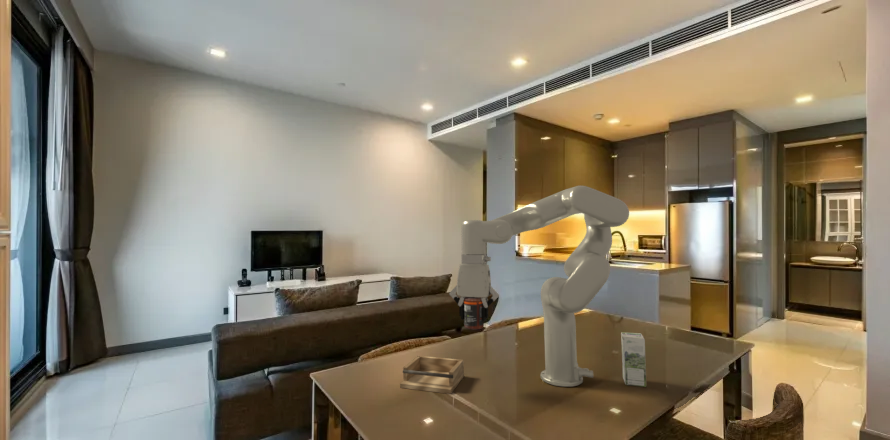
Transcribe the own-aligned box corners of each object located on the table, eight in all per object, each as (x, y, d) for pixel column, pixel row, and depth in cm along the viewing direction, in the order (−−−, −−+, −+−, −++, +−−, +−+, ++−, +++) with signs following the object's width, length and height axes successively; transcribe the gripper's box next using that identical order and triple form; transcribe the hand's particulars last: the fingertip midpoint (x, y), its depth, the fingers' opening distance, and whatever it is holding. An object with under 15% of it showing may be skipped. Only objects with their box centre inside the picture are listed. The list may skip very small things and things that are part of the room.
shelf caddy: (463, 376, 117) (463, 359, 117) (450, 393, 104) (450, 375, 104) (418, 371, 122) (417, 355, 122) (400, 387, 109) (399, 369, 109)
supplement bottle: (483, 325, 113) (483, 289, 114) (483, 330, 107) (483, 291, 108) (464, 325, 114) (464, 288, 114) (463, 329, 108) (463, 291, 108)
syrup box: (643, 380, 111) (641, 332, 112) (647, 387, 106) (644, 337, 106) (622, 378, 113) (620, 331, 114) (625, 385, 108) (623, 336, 108)
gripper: (503, 260, 112) (503, 319, 111) (450, 259, 118) (450, 315, 117) (499, 261, 105) (500, 324, 104) (443, 260, 111) (443, 320, 110)
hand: (473, 319), depth 111 cm, fingers closed on supplement bottle, 6 cm apart
